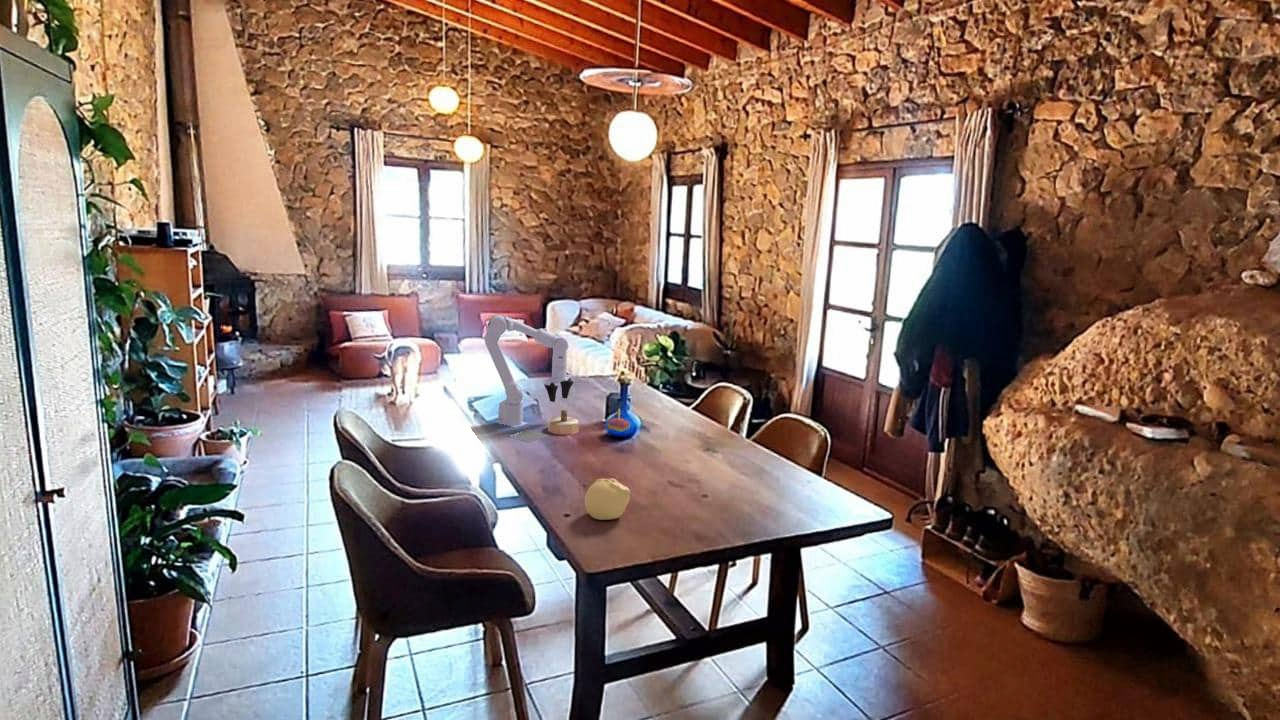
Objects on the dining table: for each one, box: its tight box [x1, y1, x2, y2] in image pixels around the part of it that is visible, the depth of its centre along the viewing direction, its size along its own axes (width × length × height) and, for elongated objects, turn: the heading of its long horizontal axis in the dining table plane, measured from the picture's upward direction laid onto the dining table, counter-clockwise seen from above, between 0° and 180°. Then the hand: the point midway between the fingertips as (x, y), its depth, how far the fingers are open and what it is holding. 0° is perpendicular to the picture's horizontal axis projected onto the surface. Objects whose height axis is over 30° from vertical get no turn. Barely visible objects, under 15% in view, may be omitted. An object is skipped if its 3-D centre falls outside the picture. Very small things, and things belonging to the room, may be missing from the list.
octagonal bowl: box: [547, 419, 580, 435], centre depth 284 cm, size 12×12×4 cm
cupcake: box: [607, 407, 631, 432], centre depth 280 cm, size 9×8×12 cm
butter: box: [584, 477, 631, 521], centre depth 205 cm, size 12×12×11 cm
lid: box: [549, 409, 579, 426], centre depth 283 cm, size 11×11×5 cm
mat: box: [505, 428, 551, 444], centre depth 275 cm, size 12×12×1 cm
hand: (558, 399), depth 292 cm, fingers open, 7 cm apart
